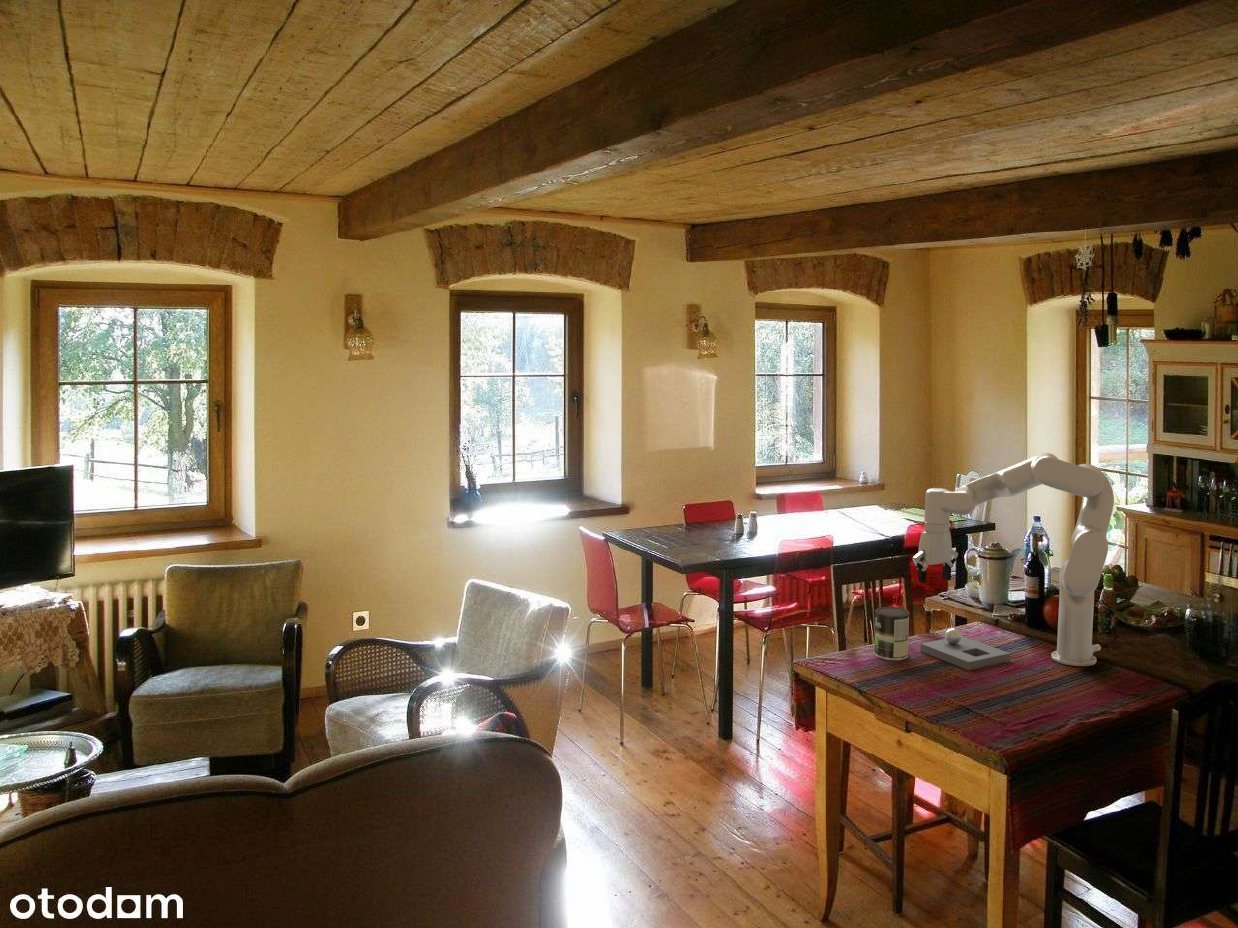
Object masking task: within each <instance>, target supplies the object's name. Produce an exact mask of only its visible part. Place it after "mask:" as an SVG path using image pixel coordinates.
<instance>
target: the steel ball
mask: <svg viewBox="0 0 1238 928" xmlns="http://www.w3.org/2000/svg"><path fill="white" fill-rule="evenodd" d="M961 636H962V633H961V631H960V630H959V629H957V628H954V627H951V628H948V629H947V630H946V631H945V632H944V639H946V641H947V642H948V643H950V644H957V643H959V642H960V640H961Z"/></svg>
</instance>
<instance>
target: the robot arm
mask: <svg viewBox="0 0 1238 928" xmlns="http://www.w3.org/2000/svg"><path fill="white" fill-rule="evenodd" d="M1041 485H1044V486H1046V487H1050V488H1052V489H1055V490H1059V491H1062V492H1066V493H1069V494H1072V495H1075V496H1079V497H1081V505H1080V509H1079V514H1078V517H1077V521H1076V523H1075V527H1074V530H1073V532H1072V534H1071V537H1070V538H1071V540H1070V543H1071V549H1070V550H1071V551H1070V553H1069V556H1068V559H1066V560H1065V561H1064V562H1063V563H1062V565H1061V567H1060V570H1059V596H1058V597H1059V602H1058V603H1059V604H1058V620H1057V621H1058V622H1057V637H1056V638H1057V641H1056V650H1054V651H1052V652H1051V653H1050V655H1051V656H1050V658H1051V659H1052V660H1053V661H1055V662H1056V663H1058V664H1063V665H1066V666H1072V667H1073V666H1075V667H1089V666H1090V667H1091V666H1093V665H1095V664H1096V663H1097V657H1096V655H1094V653H1095V652H1098V651H1101V649H1102V646H1101V645H1100V644H1099V643H1098V644H1093V627H1094V626H1093V625H1094V622H1093V621H1094V611H1095V610H1094V608H1095V591H1096V589H1097V588H1098V585H1099V582H1100V580H1101V576H1102V572H1103V569H1104V567H1105V562H1106V560H1107V556H1108V552H1109V542H1108V538H1107V533H1108V529H1109V525H1110V522H1111V518H1112V514H1113V511H1114V505H1115V504H1114V503H1115V496H1114V491H1113V490H1114V489H1113V487H1112V484H1111V482H1110V480H1109V479H1108V477H1107V476H1106V475H1105V473H1104V472H1103V471H1102V470H1100V469H1099V468H1098V467H1096V466H1095V465H1093V464H1091V463H1081V464H1074V463H1071V462H1068V461H1064V460H1061V459H1060V458H1058V457H1057V455H1055V454H1053V453H1050V452H1043V453H1039V454H1036V455H1035V456H1032V457H1030V458H1027V459H1025V460H1022V461H1020V462H1018V463H1016V464H1014V465H1010V466H1008V467H1006V468H1004V469H1001V470H999V471H996V472H994V473H990V474H989V475H985V476H982V477H980V478H978V479H975V480H973V481H970V482H969V483H966V484H964V485H961V486H960V487H957V488H956V489H954V491H950V490H949V489H946V488H941V487H932V488H928V489H927V490H926V491H925V495H924V496H925V498H924V500H925V501H924V518H923V519H924V521H923V522H924V525H923V531H921V533H920V539H919V543H918V551H917V553H916V554H915V555H914V556H913V557H912V561H913V565H914V566H915V568H916V570H917V571H918V575H917V581H918V583H920V584H921V583H922V584H926V583H927V580H928V579H927V576H928V571H927V568H928V567H929V565H930V566H931V565H940V564H943V565H942V574H941V576H942V577H941V578H942V579H944V580H947V581H951V579H952V568H953V567H954V564H955V563H956V561H957V558H958V555H959V552H957V551H955V550H954V549H953V547H952V536H951V531H950V528H951V526H952V524H951V523H950V522H951V521H950V519H951V518H950V517H951V514H954V515H959V516H967V515H970V514H972V513H973V512H974V511H975V509H976V506H978V505H980V504H983V503H986V502H988V501H991V500H994V499H997V498H1004V497H1005V498H1006V497H1013V496H1014V497H1015V496H1017V495H1019V494H1022V493H1024V492H1026V491H1029V490H1030V489H1033V488H1035V487H1039V486H1041Z"/></svg>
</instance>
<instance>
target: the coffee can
mask: <svg viewBox="0 0 1238 928" xmlns="http://www.w3.org/2000/svg"><path fill="white" fill-rule="evenodd" d="M874 612H875V620H874V623H875V624H874V653H873V654H874V656H875V657H876V658H879V659H882V660H886V661H902V660H906V659H907V658H908V657H909V631H910V630H909V627H910V624H909V623H910V615H911V614H910V611H909V610H908V609H906V608H901V607H897V606H895V607H894V606H884V607H883V606H882V607H878V608H876V609H875V611H874Z"/></svg>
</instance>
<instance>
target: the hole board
mask: <svg viewBox="0 0 1238 928" xmlns="http://www.w3.org/2000/svg"><path fill="white" fill-rule="evenodd" d="M920 652H922V653H924V654H927V655H929V656H932V657H933V658H936V659H939V660H942V661H944V662H947V663H949V664H952V665H953V666H957V667H959V668H962V669H965V670H967V671H970V670H975V669H980V668H984V667H990V666H994V665H998V664H1003V663H1007V662H1011V653H1010V652H1008V651H1005V650H1002V649H999V648H997V647H994V646H991V645H988V644H986V643H983V642H980V641H978V640H975V639H971V638H969V637H966V636H963V635H961V640H960V642H959V643H957V644H950V643H948V642H947V641H946V639H945V638H943V639H941V638H940V639H938V640H932V641H928V642H922V643H920Z"/></svg>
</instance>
